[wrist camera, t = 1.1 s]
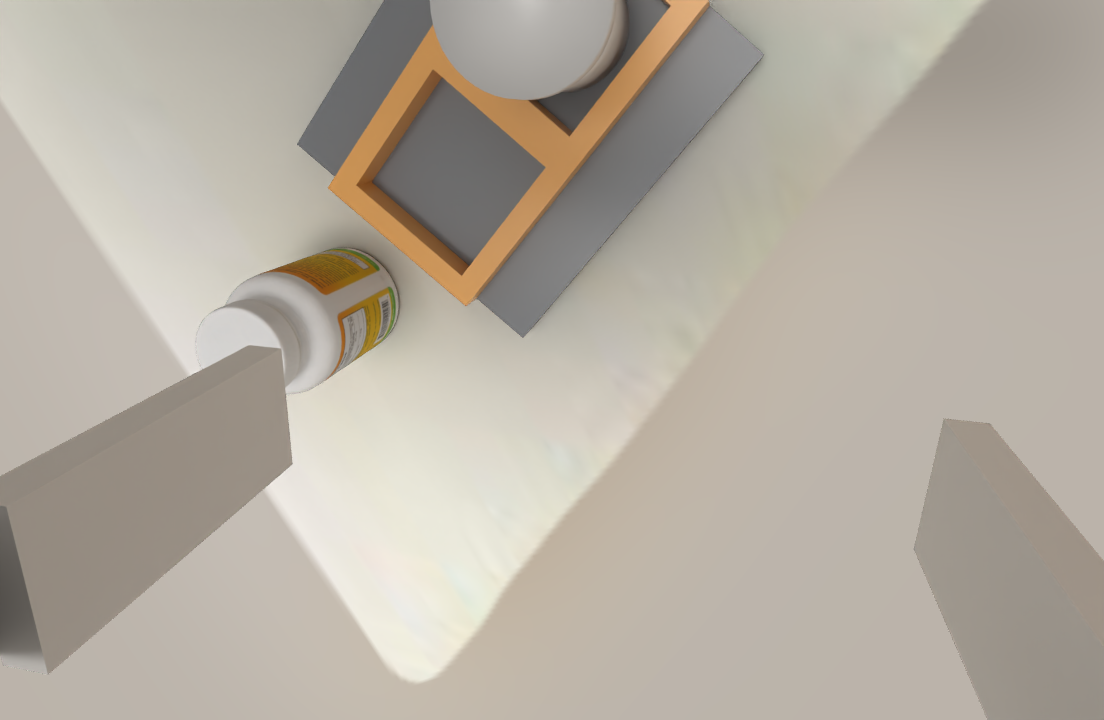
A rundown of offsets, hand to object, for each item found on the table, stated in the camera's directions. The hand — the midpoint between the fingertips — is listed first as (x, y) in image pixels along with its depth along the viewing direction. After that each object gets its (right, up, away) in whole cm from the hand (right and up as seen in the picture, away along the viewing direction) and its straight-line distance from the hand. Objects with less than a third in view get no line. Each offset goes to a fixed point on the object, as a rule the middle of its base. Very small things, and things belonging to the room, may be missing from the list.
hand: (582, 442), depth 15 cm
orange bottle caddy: (-2, +13, +19) cm, 23 cm away
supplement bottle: (-11, +5, +24) cm, 26 cm away
